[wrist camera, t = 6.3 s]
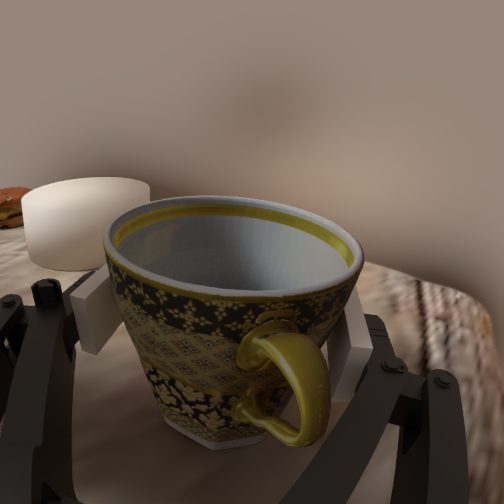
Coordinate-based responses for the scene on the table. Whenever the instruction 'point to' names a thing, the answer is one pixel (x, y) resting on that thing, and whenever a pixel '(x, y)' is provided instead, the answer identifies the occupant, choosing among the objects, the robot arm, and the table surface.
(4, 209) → the burger
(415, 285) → the table surface
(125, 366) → the table surface
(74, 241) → the plinth
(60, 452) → the robot arm
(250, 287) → the ceramic cup
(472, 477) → the table surface
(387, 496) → the table surface
